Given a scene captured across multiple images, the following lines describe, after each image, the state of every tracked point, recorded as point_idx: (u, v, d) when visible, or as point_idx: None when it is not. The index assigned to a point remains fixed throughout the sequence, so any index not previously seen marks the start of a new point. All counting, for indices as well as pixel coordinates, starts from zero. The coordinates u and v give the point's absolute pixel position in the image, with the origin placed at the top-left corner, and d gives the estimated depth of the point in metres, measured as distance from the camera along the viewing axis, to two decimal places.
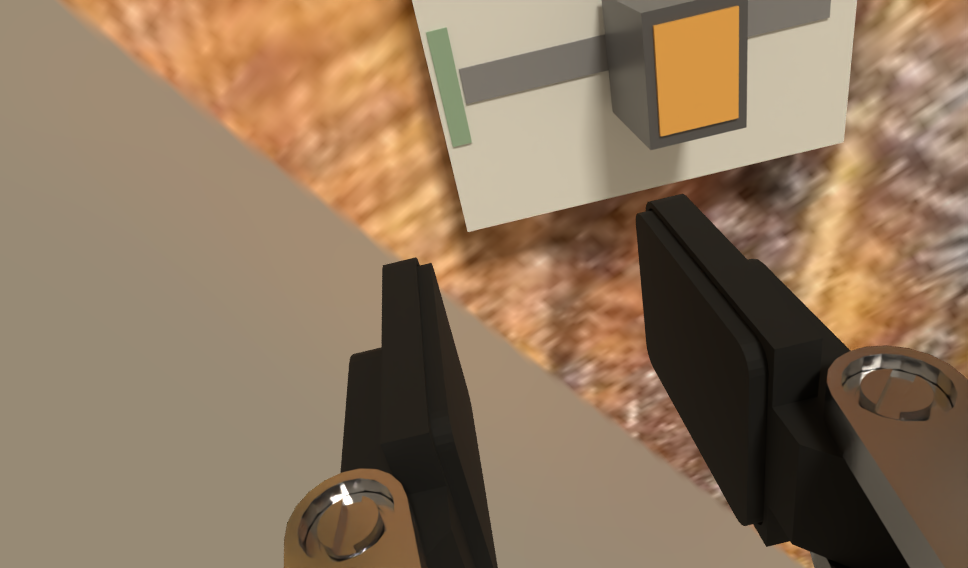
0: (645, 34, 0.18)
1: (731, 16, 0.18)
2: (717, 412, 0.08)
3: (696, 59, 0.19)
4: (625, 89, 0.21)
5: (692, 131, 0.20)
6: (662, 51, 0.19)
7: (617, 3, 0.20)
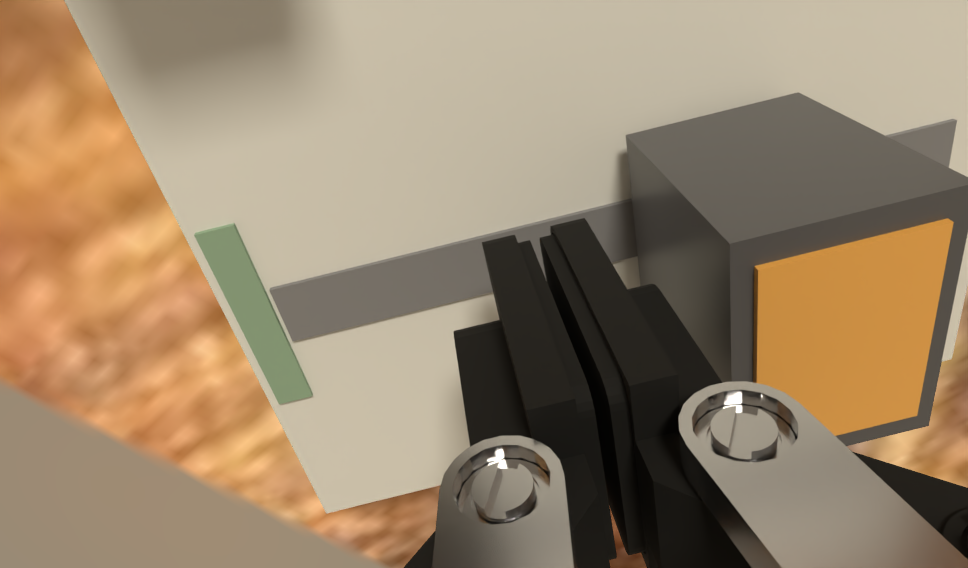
0: (736, 284, 0.08)
1: (934, 241, 0.08)
2: (601, 441, 0.08)
3: (842, 321, 0.09)
4: None
5: None
6: (771, 315, 0.08)
7: (663, 178, 0.10)
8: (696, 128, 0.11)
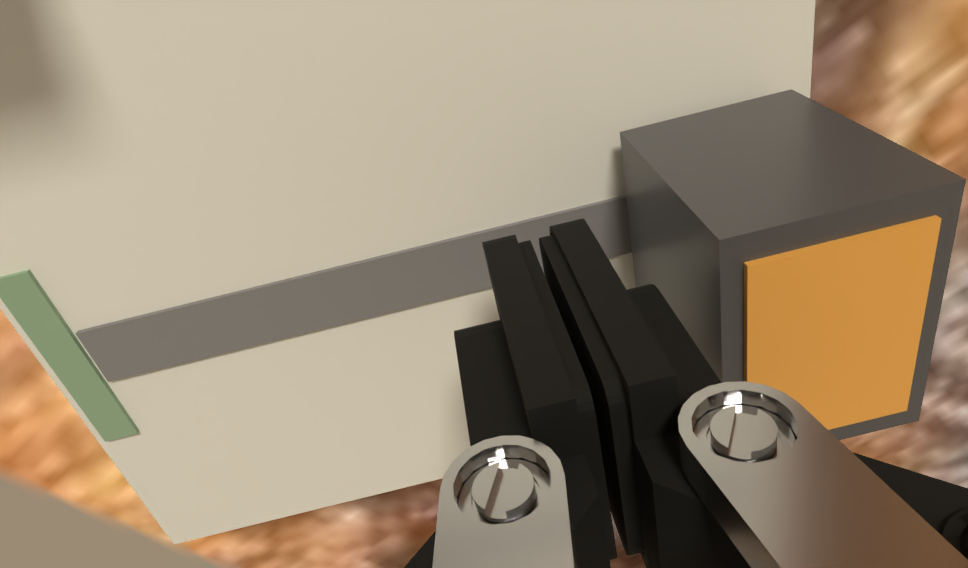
0: (725, 279, 0.08)
1: (923, 238, 0.08)
2: (600, 442, 0.08)
3: (832, 318, 0.09)
4: None
5: None
6: (762, 310, 0.08)
7: (655, 175, 0.10)
8: (690, 125, 0.11)
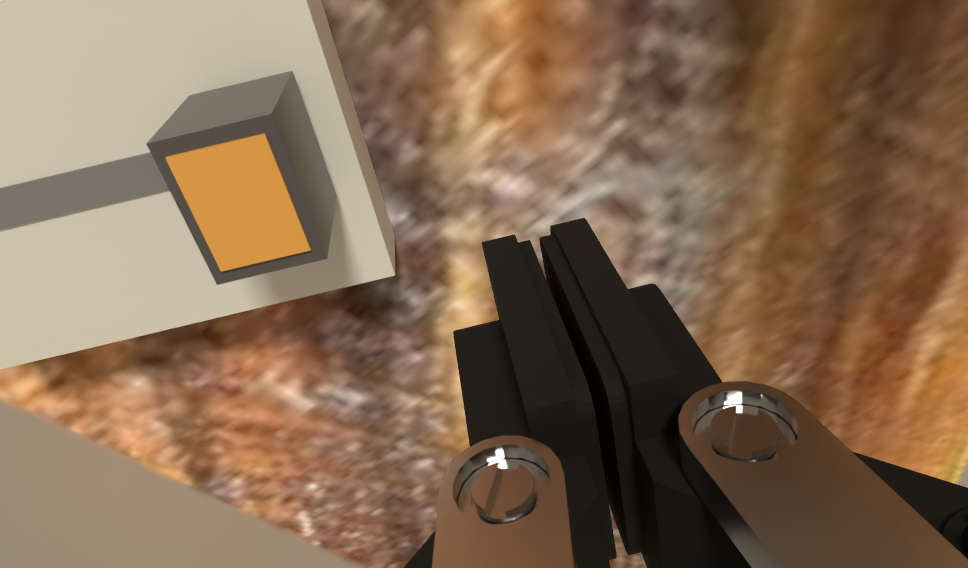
0: (160, 166, 0.16)
1: (260, 145, 0.16)
2: (601, 441, 0.08)
3: (236, 191, 0.16)
4: None
5: (260, 264, 0.17)
6: (186, 184, 0.16)
7: (172, 117, 0.17)
8: (222, 91, 0.18)
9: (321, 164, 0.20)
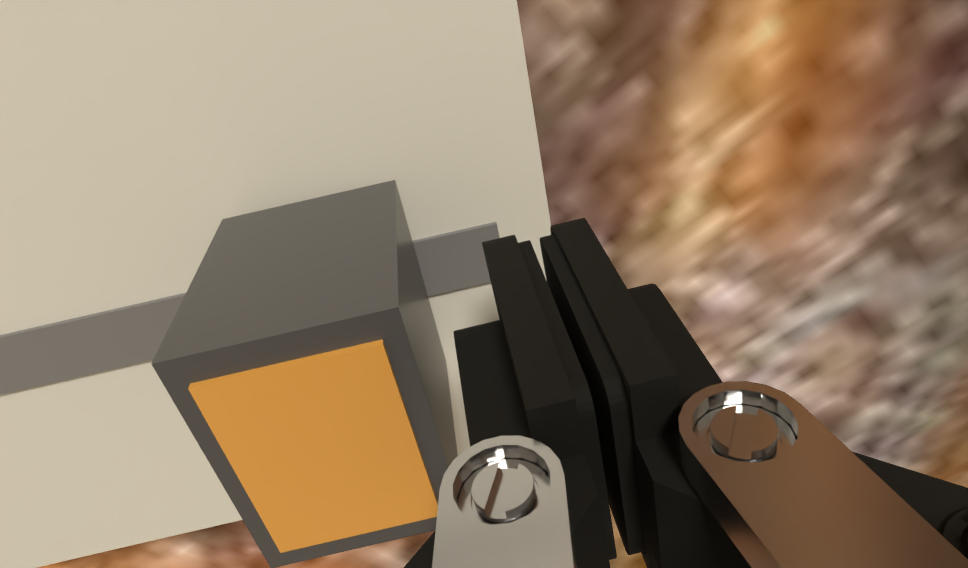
0: (178, 399, 0.08)
1: (371, 361, 0.08)
2: (601, 441, 0.08)
3: (317, 432, 0.09)
4: None
5: (350, 537, 0.10)
6: (226, 428, 0.08)
7: (197, 275, 0.10)
8: (279, 216, 0.11)
9: (433, 324, 0.12)
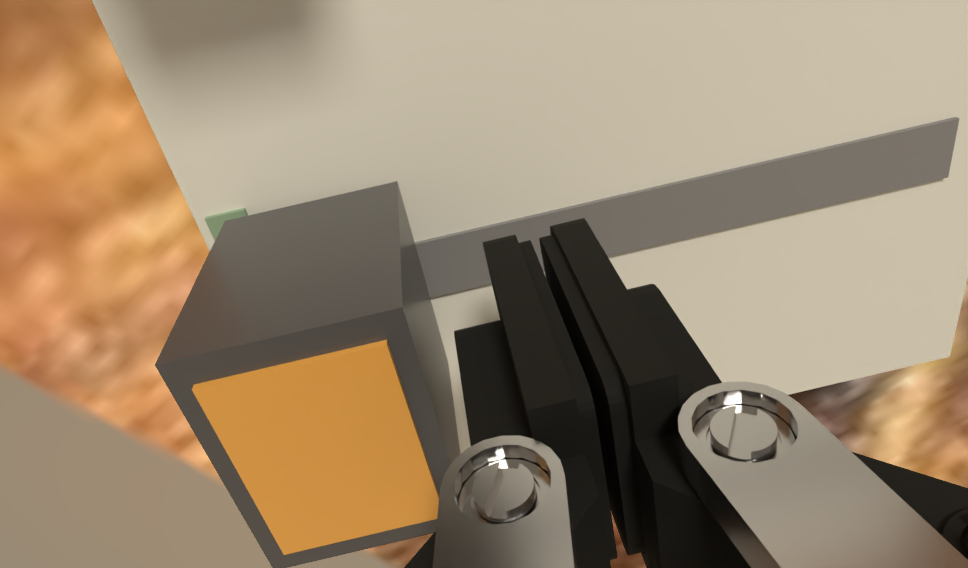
0: (182, 400, 0.08)
1: (376, 362, 0.08)
2: (601, 441, 0.08)
3: (321, 433, 0.09)
4: None
5: (353, 539, 0.10)
6: (230, 429, 0.08)
7: (201, 277, 0.10)
8: (281, 218, 0.11)
9: (435, 325, 0.12)
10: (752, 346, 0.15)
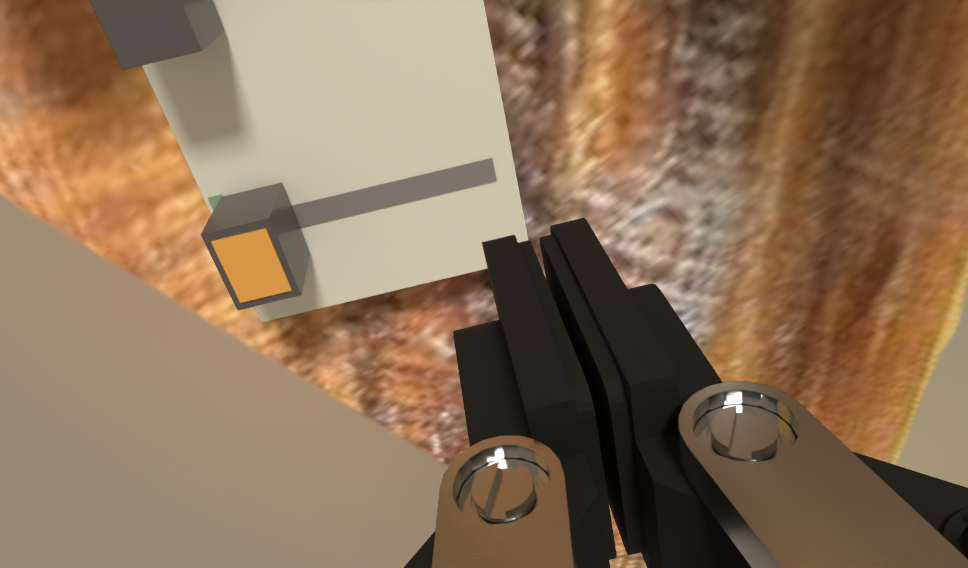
0: (208, 246, 0.29)
1: (263, 234, 0.29)
2: (602, 440, 0.08)
3: (249, 258, 0.29)
4: None
5: (262, 298, 0.30)
6: (222, 255, 0.29)
7: (212, 214, 0.30)
8: (240, 195, 0.31)
9: (299, 236, 0.33)
10: (437, 251, 0.35)
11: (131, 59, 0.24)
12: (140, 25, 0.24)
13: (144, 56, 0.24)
